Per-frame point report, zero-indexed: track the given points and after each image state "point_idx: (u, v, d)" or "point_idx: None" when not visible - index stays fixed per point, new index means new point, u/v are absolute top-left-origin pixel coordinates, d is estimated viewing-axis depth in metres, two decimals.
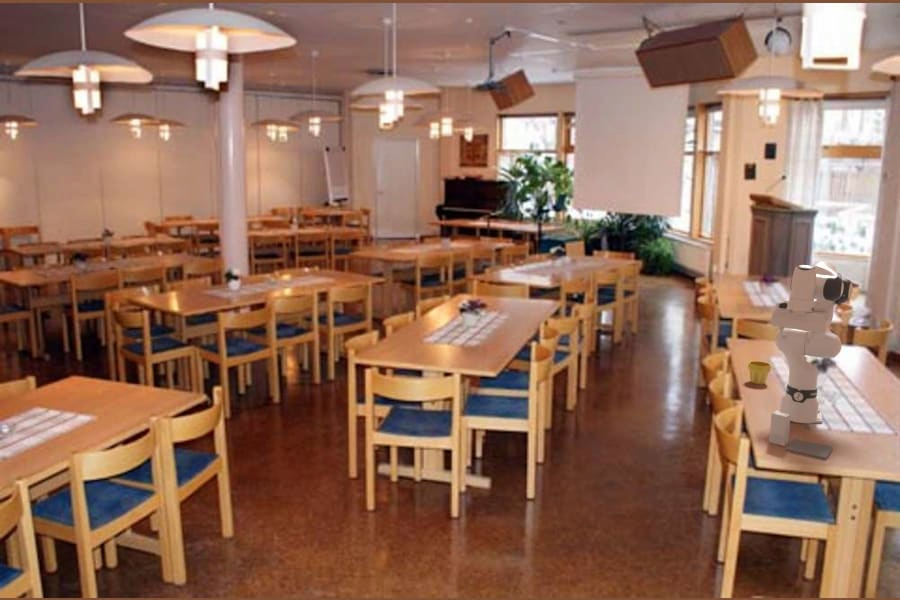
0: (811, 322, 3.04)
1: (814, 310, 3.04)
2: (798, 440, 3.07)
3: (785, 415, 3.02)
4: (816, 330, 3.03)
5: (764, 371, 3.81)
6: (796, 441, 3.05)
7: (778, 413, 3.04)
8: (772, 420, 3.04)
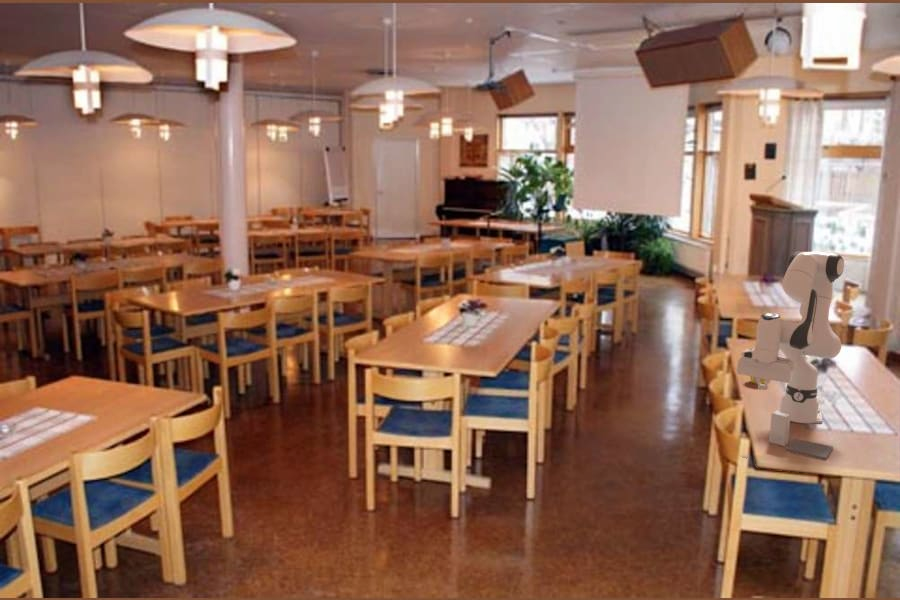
0: (777, 371, 3.01)
1: (779, 359, 3.01)
2: (798, 440, 3.07)
3: (785, 415, 3.02)
4: (781, 380, 3.00)
5: None
6: (796, 441, 3.05)
7: (778, 413, 3.04)
8: (772, 420, 3.04)
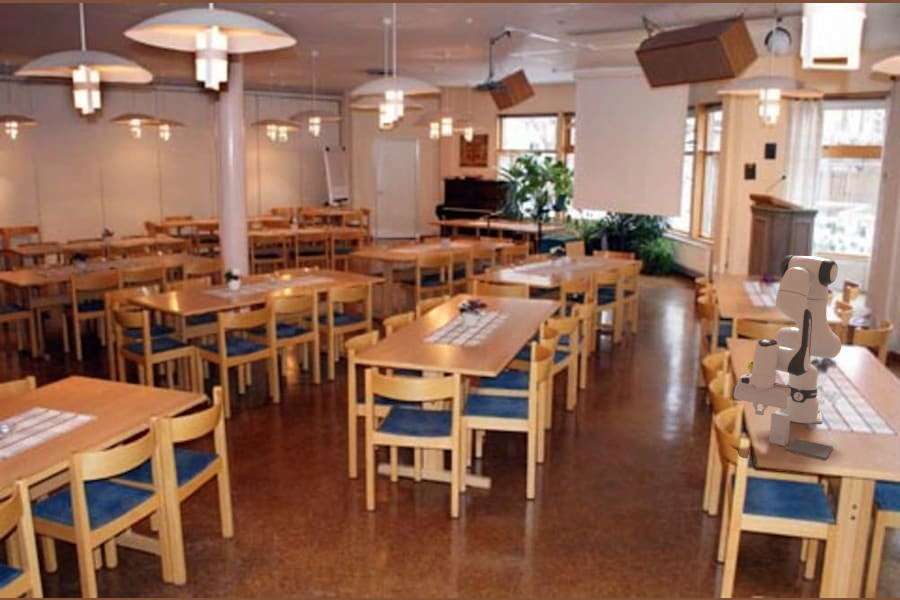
0: (774, 397, 3.03)
1: (776, 385, 3.03)
2: (798, 440, 3.07)
3: (785, 415, 3.02)
4: (778, 406, 3.02)
5: None
6: (796, 441, 3.05)
7: (778, 413, 3.04)
8: (772, 420, 3.04)
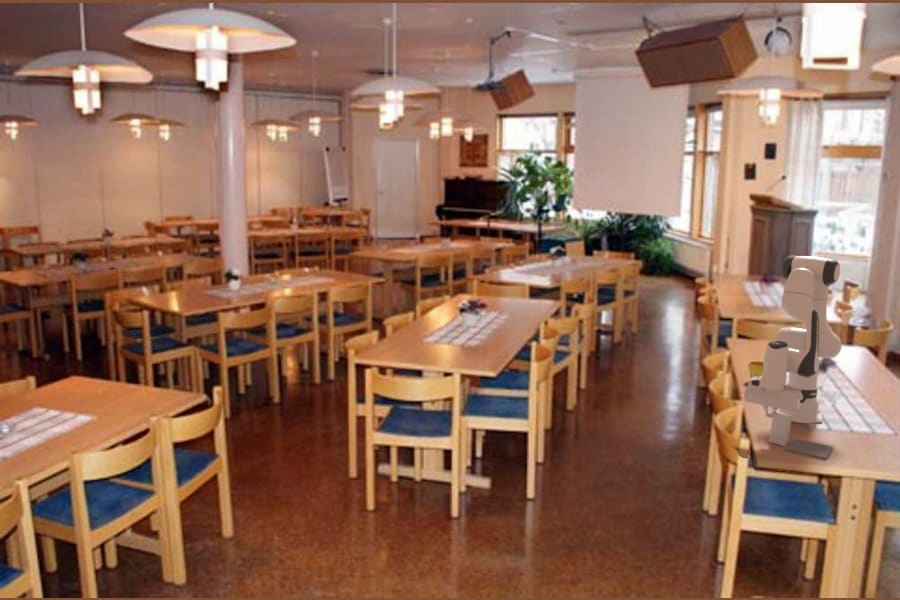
0: (784, 400, 3.00)
1: (787, 388, 3.00)
2: (798, 440, 3.07)
3: (787, 415, 3.01)
4: (789, 408, 3.00)
5: None
6: (796, 441, 3.05)
7: (780, 413, 3.03)
8: (773, 420, 3.03)
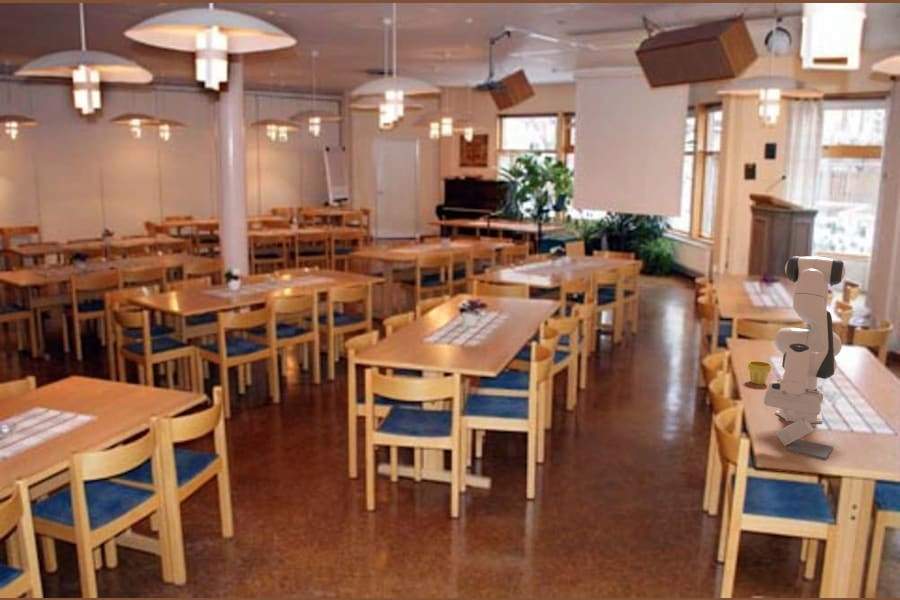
0: (805, 404, 2.96)
1: (808, 391, 2.96)
2: (798, 440, 3.07)
3: (810, 428, 2.97)
4: (810, 412, 2.95)
5: (764, 371, 3.81)
6: (796, 441, 3.05)
7: (806, 422, 2.98)
8: (796, 423, 2.98)
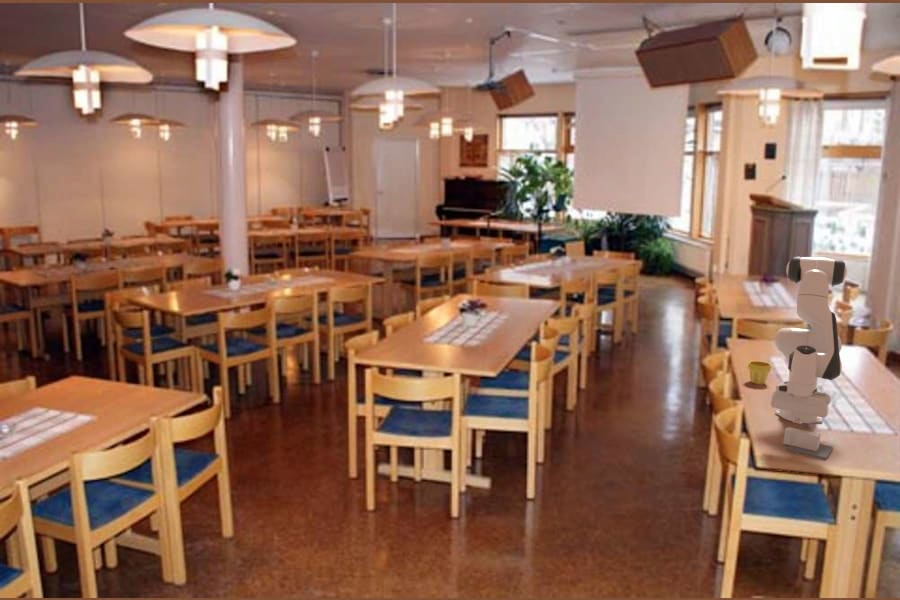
0: (812, 406, 2.95)
1: (815, 393, 2.95)
2: None
3: (817, 448, 2.96)
4: (818, 414, 2.94)
5: (764, 371, 3.81)
6: None
7: (818, 440, 2.96)
8: (810, 436, 2.96)
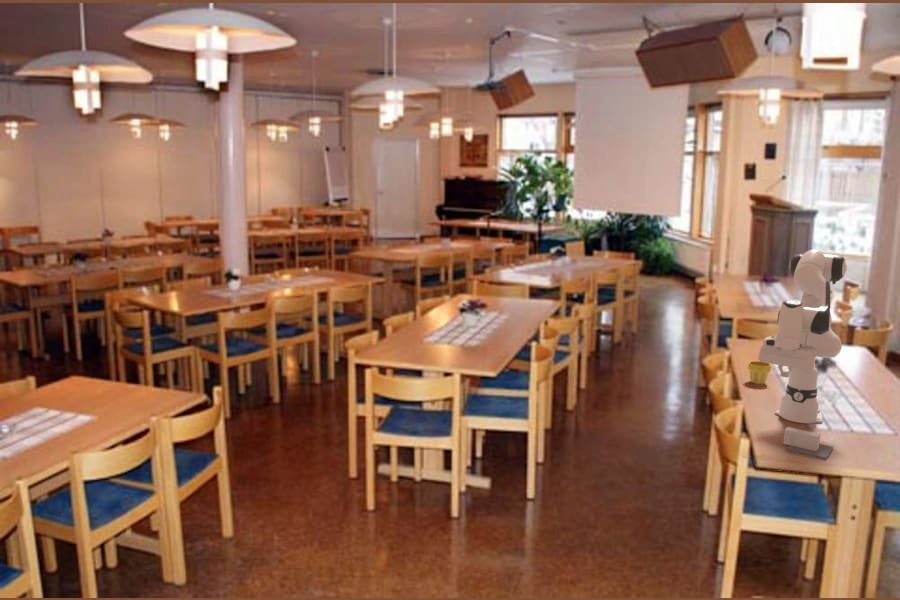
0: (799, 359, 2.98)
1: (802, 347, 2.98)
2: None
3: (817, 448, 2.96)
4: (804, 367, 2.98)
5: (764, 371, 3.81)
6: None
7: (818, 440, 2.96)
8: (810, 436, 2.96)
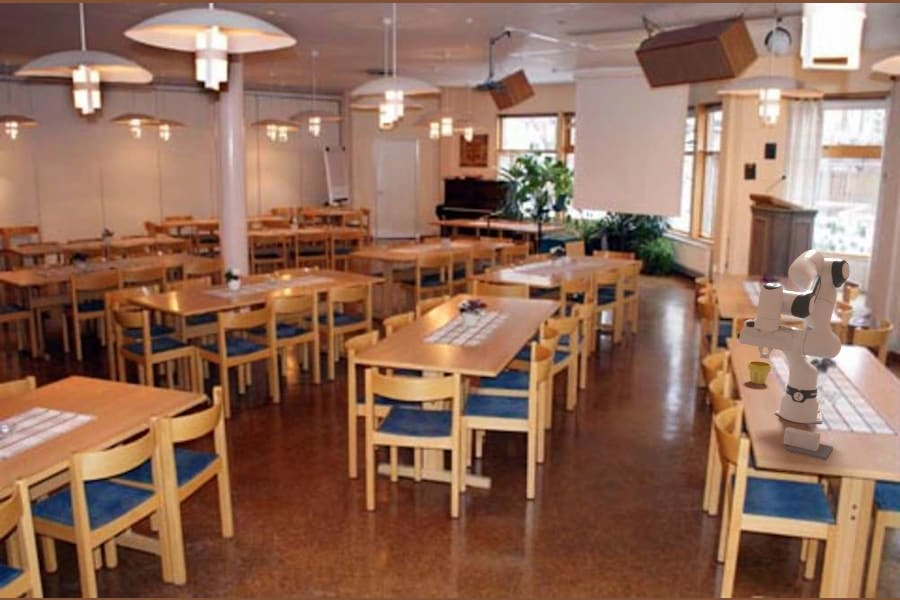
0: (778, 340, 3.05)
1: (781, 328, 3.05)
2: None
3: (817, 448, 2.96)
4: (783, 348, 3.05)
5: (764, 371, 3.81)
6: None
7: (818, 440, 2.96)
8: (810, 436, 2.96)
